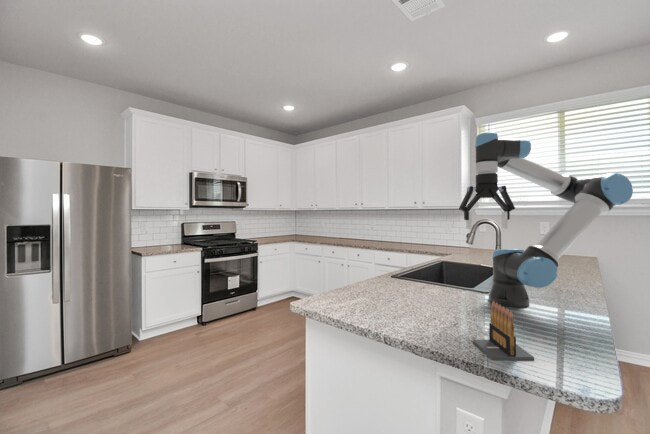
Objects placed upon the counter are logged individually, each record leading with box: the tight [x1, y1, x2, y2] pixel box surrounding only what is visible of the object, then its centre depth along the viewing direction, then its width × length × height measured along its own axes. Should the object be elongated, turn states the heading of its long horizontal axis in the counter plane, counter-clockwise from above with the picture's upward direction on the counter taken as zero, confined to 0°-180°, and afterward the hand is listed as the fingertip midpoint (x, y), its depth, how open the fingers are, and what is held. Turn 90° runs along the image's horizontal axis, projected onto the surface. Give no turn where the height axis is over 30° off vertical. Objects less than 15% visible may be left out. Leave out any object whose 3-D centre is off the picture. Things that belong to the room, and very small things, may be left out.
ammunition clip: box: [488, 301, 517, 356], centre depth 86 cm, size 11×2×12 cm, turn 178°
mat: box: [472, 339, 535, 361], centre depth 86 cm, size 11×11×1 cm
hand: (486, 228), depth 118 cm, fingers open, 13 cm apart
